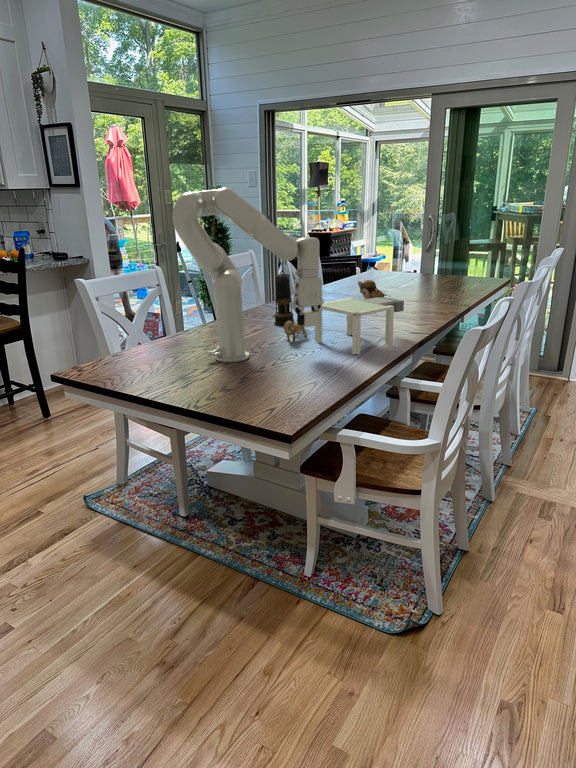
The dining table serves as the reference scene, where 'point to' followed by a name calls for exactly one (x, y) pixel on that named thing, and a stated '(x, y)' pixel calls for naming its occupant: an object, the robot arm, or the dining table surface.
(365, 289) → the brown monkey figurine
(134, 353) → the dining table surface
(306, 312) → the stone block
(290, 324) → the lion figurine
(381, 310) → the trapdoor frame
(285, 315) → the lantern
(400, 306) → the trapdoor plate
